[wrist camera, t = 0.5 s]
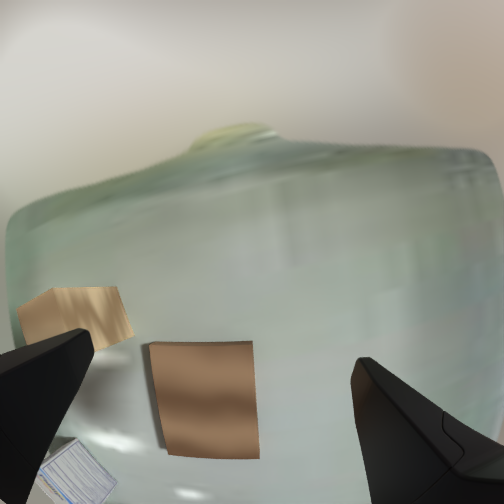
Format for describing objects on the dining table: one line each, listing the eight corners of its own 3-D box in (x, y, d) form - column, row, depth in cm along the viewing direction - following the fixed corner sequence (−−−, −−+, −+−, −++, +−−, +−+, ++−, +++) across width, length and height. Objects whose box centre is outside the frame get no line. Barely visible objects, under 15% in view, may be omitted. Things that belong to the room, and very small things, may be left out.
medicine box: (62, 444, 23) (25, 471, 14) (77, 436, 23) (38, 466, 14) (102, 488, 22) (73, 521, 14) (120, 482, 22) (90, 520, 14)
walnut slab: (259, 448, 23) (259, 458, 21) (173, 445, 23) (168, 454, 21) (252, 339, 24) (251, 344, 22) (156, 340, 24) (148, 344, 22)
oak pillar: (134, 335, 24) (76, 359, 15) (97, 348, 24) (36, 371, 15) (116, 286, 25) (52, 287, 15) (81, 302, 25) (16, 308, 15)
